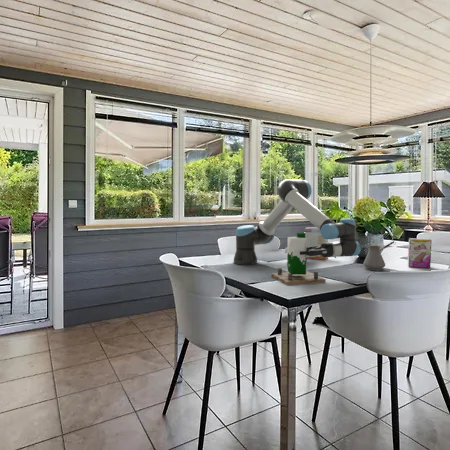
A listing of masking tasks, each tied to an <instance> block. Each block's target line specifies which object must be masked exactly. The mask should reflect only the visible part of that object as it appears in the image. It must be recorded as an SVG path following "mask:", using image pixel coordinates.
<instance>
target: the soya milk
mask: <svg viewBox="0 0 450 450" xmlns="http://www.w3.org/2000/svg"><path fill="white" fill-rule="evenodd" d="M286 248H287V253H286V254H287V257H286V258H287V259H286V260H287V262H286V263H287V272H289V273H292V275H301V274H306V271H307V258H306V255H303V256H293V250H306V249H307V238H306V237H305V232H297V233H296V236H288V237H287V247H286Z"/></svg>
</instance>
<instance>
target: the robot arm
mask: <svg viewBox="0 0 450 450" xmlns="http://www.w3.org/2000/svg"><path fill="white" fill-rule="evenodd" d="M277 195H278V197H279V198H280V200H279V202H278V203H277V204H276V205H275V207H274V208H273V209H272V211H270V213H269V214H268V215H267V217H266V218H265V219H264V220H261V221H260V222H259V223H258V224H257V226H255V225H253V224H249V225H248V224H247V225H244V224H243V225H241V226H238V227H237V228H236V230H235V240H236V241H235V249H236V250H235V254H234V256H233V264H237V265H255V264H257V263H258V257H257V255H256V251H255V249H256V248H255V247H256V246H260V245H267V244H270V243H271V242H273V240H274V238H275V232H276V231H275V229H276V228H277V227H278V226H279V225H280V224H281V222H283V220H284V219H285V218H286V217H287V215H288V214H289V213H290V211H291V210H292V209H294V210H296V211H297V212H298V213H299V214H301V215H302V216H303V217H304V218H305V219H306V220H307V221H309V222H310V223H311V224H312V225H314V227H317V228H318V229H319V230H320V233H321V235H322V237H323V238H325V239H328V240H336V239H339V241H332V242H331V241H330V242H329V241H328V243H322V244H321V246H320V247H319V246H307V249H306V250H293V256H303V255H307V256H308V255H309V256H315V255H322V256H323V257H328V258H334V259H336V258H338V257H342V258H343V257H356V256H358V255H360V253H361V249H362V248H361V244H360V243H359V242H358V241H356V233H357V232H356V227H357V225H356V219H355V218H350V217H349V218H346V217H345V218H341V219H340V220H339V222H335V221H334V220H332V219H331V218H329V216H327V215H326V214H324V212H322V211H321V210H320V209H318V208H317V207H316V206H315V205H313V204H312V203H311V202H310V201H309V200H308V199H309V198H310V197H311V195H312V186H311V183H310V182H309V181H308V180H305V179H290V178H287V179H283V180H282V181H280V182H279V184H278V186H277ZM284 254H287V247H285V248H284Z"/></svg>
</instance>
